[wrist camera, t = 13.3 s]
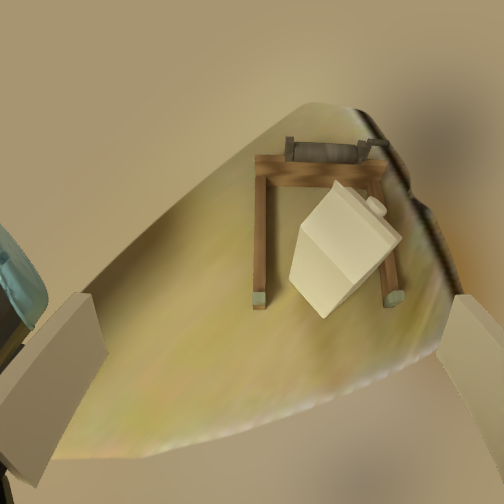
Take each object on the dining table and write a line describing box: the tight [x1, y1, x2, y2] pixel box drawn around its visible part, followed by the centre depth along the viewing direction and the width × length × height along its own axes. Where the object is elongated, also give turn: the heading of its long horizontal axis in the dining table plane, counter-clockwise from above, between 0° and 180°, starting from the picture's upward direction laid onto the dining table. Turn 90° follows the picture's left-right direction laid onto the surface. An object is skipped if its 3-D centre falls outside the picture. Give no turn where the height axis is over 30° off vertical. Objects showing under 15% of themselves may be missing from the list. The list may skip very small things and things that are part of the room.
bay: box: [252, 137, 405, 310], centre depth 39 cm, size 19×21×11 cm
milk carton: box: [289, 180, 403, 319], centre depth 33 cm, size 7×7×19 cm
